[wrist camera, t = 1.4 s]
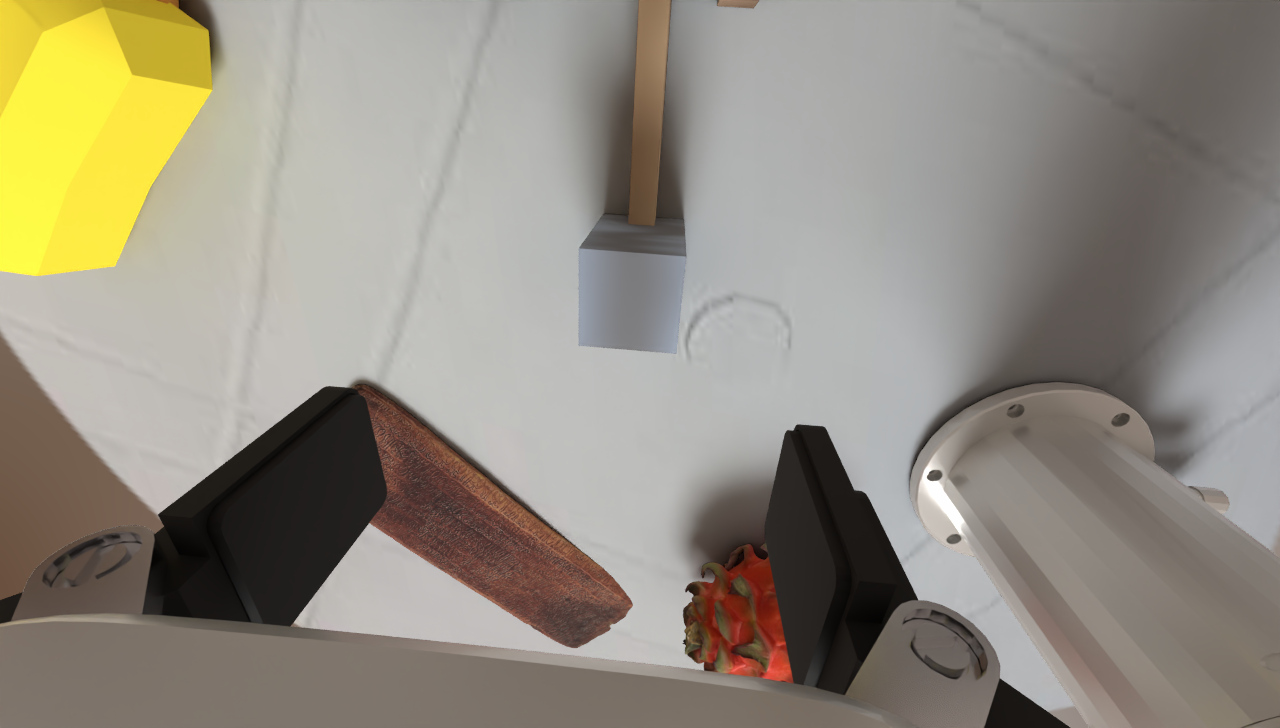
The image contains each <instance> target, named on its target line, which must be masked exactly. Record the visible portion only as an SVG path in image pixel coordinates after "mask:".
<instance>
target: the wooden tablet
mask: <svg viewBox="0 0 1280 728" xmlns="http://www.w3.org/2000/svg"><path fill="white" fill-rule="evenodd" d="M353 388H354V389H356V390H357V391H358V392H359V394H360V395H361V396H364V398H365V399H366V402H367V406H368V410H369V414H370V418H371V422H372V427H373V431H374V435H375V439H376V444H377V448H378V452H379V456H380V460H381V465H382V469H383V473H384V477H385V481H386V486H387V496H386V500H385V502H384V504H383V505H382V507H381V508H380V509H379V511H378V512H377V513H376V515H375V516H374V517H373V519H372V520H371V521H370V522H369V523H370V524H372V525H373V526H375V527H376V528H378V529H379V530H381V531H382V532H384V533H385V534H387V535H388V536H390V537H392V538H393V539H394V540H396V541H397V542H398V543H400V544H402V545H403V546H404V547H406V548H407V549H409V550H410V551H412V552H414V553H415V554H417V555H418V556H420V557H422V558H423V559H425V560H426V561H428V562H429V563H431V564H432V565H434V566H436V567H437V568H439V569H440V570H442V571H444V572H445V573H447V574H449V575H450V576H452V577H453V578H455V579H456V580H458V581H459V582H461V583H463V584H464V585H466V586H467V587H469V588H470V589H472V590H474V591H475V592H477V593H479V594H480V595H482V596H484V597H485V598H487V599H488V600H490V601H492V602H493V603H495V604H496V605H498V606H499V607H501V608H502V609H504V610H506V611H507V612H509V613H511V614H512V615H513V616H515V617H517V618H518V619H520V620H521V621H523V622H524V623H526V624H529V625H531V626H532V627H533V628H534V629H536V630H538V631H539V632H541V633H542V634H544V635H545V636H547V637H550V638H551V639H553V640H554V641H556V642H558V643H560V644H563V645H565V646H567V647H571V648H578V647H580V646H581V645H584V644H586V643H588V642H589V641H591V640H592V639H594V638H596V637H597V636H600V635H602V634H604V633H605V632H607V631H609V630H610V629H611V628H610V625H611V624H615V623H617V622H618V621H620V620H621V619H623V618H624V617H625V616H626V614H627V612H628V611H629V610H630V608H631V607H632V606H633V604H632V602H631V600H630V598H629V597H628V596H627V595H626V593H625V592H624V590H623V589H622V588H621V587H620V585H619V584H618V583H617V582H616V581H615V580H614V578H613V577H612V576H611V575H610V574H609V573H608V572H606V571H605V570H604V569H603V568H602V567H601V566H600V565H598V564H597V563H596V562H594V561H593V560H592V559H590V558H589V557H588V556H587V555H585V554H584V553H583V552H581V551H580V550H579V549H578V548H576V547H575V546H574V545H572V544H571V543H570V542H568V541H567V540H566V539H565V538H563V537H562V536H560V535H559V534H558V533H557V532H555V531H554V530H552V529H551V528H549V527H548V526H547V525H545V524H544V523H543V522H542V521H540V520H539V519H537V518H536V517H535V516H534V515H533V514H531V513H530V512H529V511H527V510H526V509H525V508H524V507H522V506H521V505H520V504H518V503H517V502H516V501H515V500H513V499H512V498H511V497H510V496H508V495H507V494H506V493H504V492H503V491H502V490H501V489H500V488H499V487H497V486H496V485H495V484H494V483H493V482H491V481H490V480H489V479H488V478H487V477H486V476H484V475H483V474H482V473H481V472H479V471H478V470H477V469H476V468H474V467H473V466H472V465H471V464H470V463H468V462H467V461H466V460H465V459H463V458H462V457H461V456H460V455H459V454H457V453H456V452H455V451H454V450H452V449H451V448H450V447H449V446H448V445H447V444H446V443H444V442H443V441H442V440H441V439H440V438H438V437H437V436H436V435H435V434H434V433H433V432H431V431H430V430H429V429H428V428H427V427H426V426H424V425H423V424H422V423H420V422H419V421H418V420H417V419H416V418H414V417H413V416H412V415H411V414H409V413H408V412H407V411H405V410H404V409H403V408H401V407H400V406H398V405H397V404H396V403H395V402H393V401H392V400H390V399H389V398H388V397H386V396H384V395H383V394H382V393H380V392H378V391H376V390H375V389H373V388H372V387H370V386H367V385H366V384H365V385H362V384H358V385H356V386H354V387H353Z"/></svg>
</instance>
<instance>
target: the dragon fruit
mask: <svg viewBox="0 0 1280 728" xmlns="http://www.w3.org/2000/svg"><path fill="white" fill-rule="evenodd" d="M761 548H762V549H763V550H764V551H766V552H767V553H768V551H767V546H766V543H765V544H763V545H762V546H761ZM742 552H744V560H743V561H742V562H741V563H740V564H738V565H737V566H735V567H733V566H734V565H735V563H736V562H737V559H738V557H739V555H740V553H742ZM729 558H730V560H729V562H728V564H726V563H725V564H723V565H720V564H718V563H714V562H711V563H707V564H705V565H703V566H702V570H701V575H702V578H704V575H705V570H706V569H711V570H712V571H713V573H714V575H715V580H714V582H713V583H707V582H700V581H697V582H692V583H690V584H689V585H688V586H687V588H686V590H685V592H687V591H689V592H690V593H692V594H693V595H694V597H693V598H692V601H693V602H690V603H689V604H688V605H687V606H686V607H685V608H684V610H683V617H684V623H685V626H686V629H685V633H686V639H685V640H684V641H683V642H684V643H682V644H685V645H686V647H685V654H686V655H688V656H689V657H690V658H692V659H693V660H694V661H695V662H696V663H698V664H699V663H703V662H704V671H711V672H719V673H727V674H735V675H743V676H750V677H758V678H765V679H771V680H776V681H782V682H788V683H793V678H792V673H791V668H790V663H789V658H788V652H787V647H786V642H785V637H784V632H783V627H782V622H781V617H780V612H779V607H778V602H777V597H776V592H775V587H774V582H773V577H772V571H771V566H770V561H769V556H768V557H767V558H766V559H765V560H763V559H760V558H758V557H757V556H756V555H755V554H754V551H753V547H752V546H751V545H750V544H746V545H743V546H740V547H738V548H737V549H736V550H735V551H733V552H732V553H731V554H730V556H729Z"/></svg>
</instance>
